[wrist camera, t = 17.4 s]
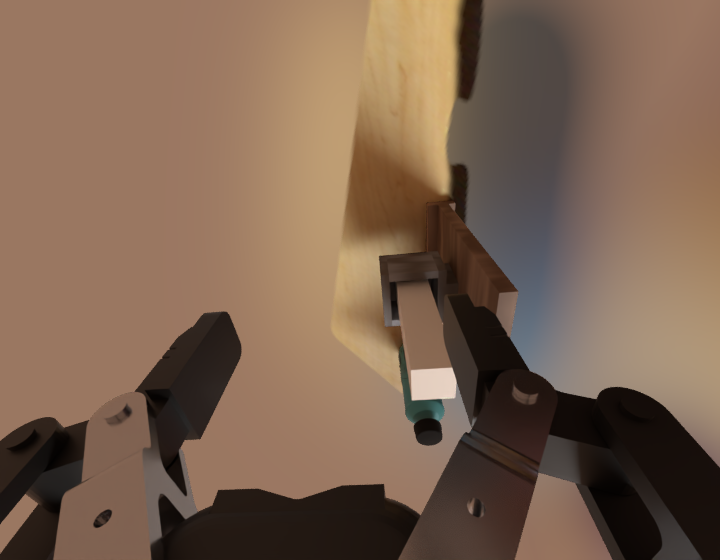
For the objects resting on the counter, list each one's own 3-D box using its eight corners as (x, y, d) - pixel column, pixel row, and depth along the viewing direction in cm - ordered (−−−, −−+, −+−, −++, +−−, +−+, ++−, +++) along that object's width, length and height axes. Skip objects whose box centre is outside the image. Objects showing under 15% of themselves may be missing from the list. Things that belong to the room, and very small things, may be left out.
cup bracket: (382, 293, 56) (392, 422, 34) (375, 208, 48) (382, 302, 26) (448, 288, 55) (505, 416, 33) (452, 200, 47) (531, 290, 25)
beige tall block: (395, 295, 44) (411, 400, 29) (394, 271, 42) (410, 370, 27) (423, 293, 44) (455, 398, 28) (423, 268, 42) (457, 367, 26)
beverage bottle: (423, 360, 64) (444, 455, 47) (392, 354, 64) (402, 449, 46) (433, 336, 61) (459, 429, 44) (401, 331, 60) (415, 423, 43)
